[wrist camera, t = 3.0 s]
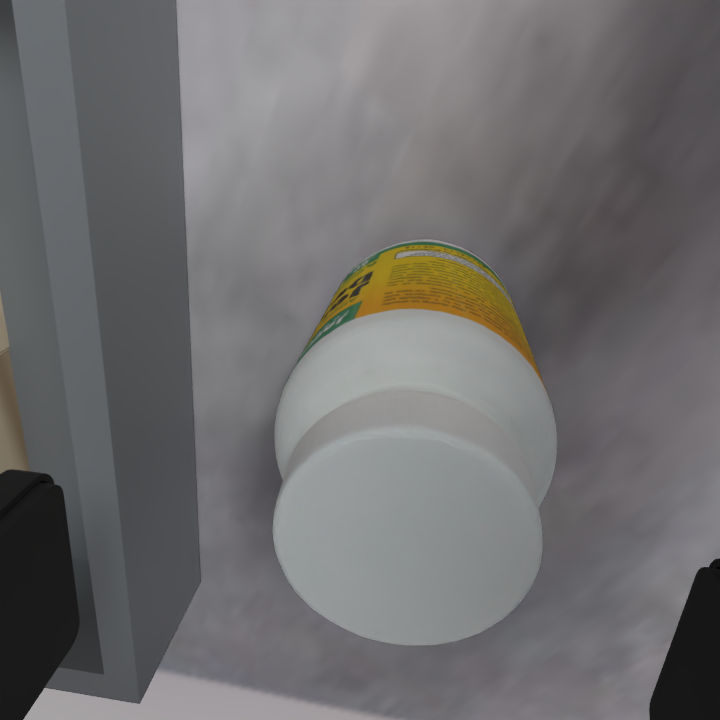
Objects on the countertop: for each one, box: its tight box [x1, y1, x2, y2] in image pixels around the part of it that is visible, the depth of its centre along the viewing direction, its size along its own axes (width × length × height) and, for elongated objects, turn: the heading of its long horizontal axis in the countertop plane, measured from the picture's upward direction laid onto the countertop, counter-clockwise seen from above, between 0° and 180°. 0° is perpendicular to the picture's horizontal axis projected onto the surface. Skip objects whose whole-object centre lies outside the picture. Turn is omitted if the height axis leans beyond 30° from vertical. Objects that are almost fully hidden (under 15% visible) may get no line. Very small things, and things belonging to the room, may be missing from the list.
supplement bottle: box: [272, 239, 557, 646], centre depth 13 cm, size 5×5×10 cm
